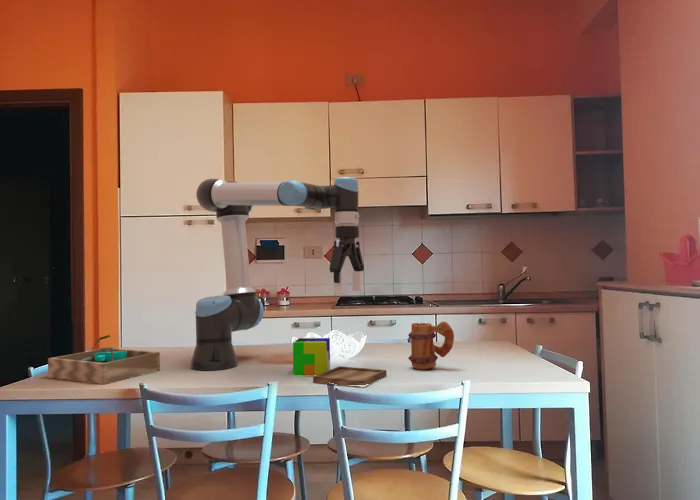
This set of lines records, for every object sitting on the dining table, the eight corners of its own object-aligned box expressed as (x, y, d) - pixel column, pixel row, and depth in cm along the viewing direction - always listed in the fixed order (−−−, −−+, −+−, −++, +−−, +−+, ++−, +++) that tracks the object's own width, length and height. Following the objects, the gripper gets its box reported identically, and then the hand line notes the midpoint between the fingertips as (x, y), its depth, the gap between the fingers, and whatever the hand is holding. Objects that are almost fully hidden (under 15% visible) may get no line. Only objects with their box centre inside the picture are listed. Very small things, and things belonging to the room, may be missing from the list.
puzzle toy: (330, 369, 174) (329, 338, 174) (325, 375, 164) (325, 342, 164) (299, 369, 174) (299, 338, 175) (293, 375, 165) (292, 343, 165)
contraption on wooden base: (68, 382, 162) (68, 332, 162) (91, 370, 180) (90, 325, 180) (117, 380, 164) (116, 330, 164) (134, 368, 181) (134, 323, 182)
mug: (405, 370, 169) (404, 322, 170) (412, 365, 177) (411, 319, 177) (451, 372, 164) (450, 323, 164) (456, 367, 171) (455, 320, 172)
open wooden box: (48, 377, 168) (48, 358, 169) (106, 365, 188) (106, 348, 188) (103, 384, 157) (103, 363, 157) (159, 370, 176) (159, 352, 176)
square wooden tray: (313, 382, 154) (313, 376, 154) (339, 372, 168) (339, 366, 168) (363, 387, 147) (363, 381, 147) (386, 376, 161) (386, 370, 161)
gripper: (339, 223, 159) (340, 295, 159) (373, 227, 181) (374, 290, 181) (317, 224, 162) (318, 294, 162) (353, 228, 185) (353, 289, 184)
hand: (347, 292), depth 171 cm, fingers open, 13 cm apart
